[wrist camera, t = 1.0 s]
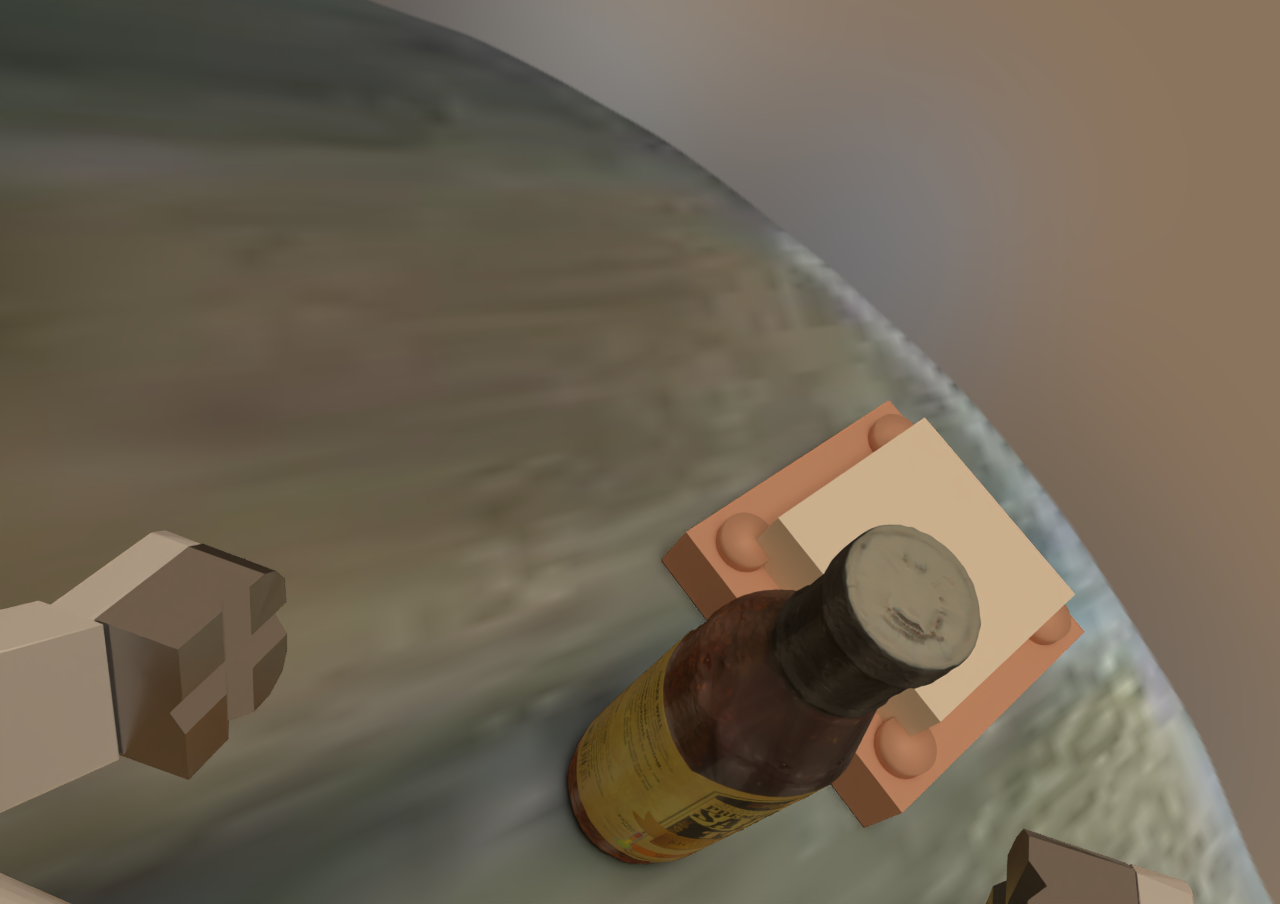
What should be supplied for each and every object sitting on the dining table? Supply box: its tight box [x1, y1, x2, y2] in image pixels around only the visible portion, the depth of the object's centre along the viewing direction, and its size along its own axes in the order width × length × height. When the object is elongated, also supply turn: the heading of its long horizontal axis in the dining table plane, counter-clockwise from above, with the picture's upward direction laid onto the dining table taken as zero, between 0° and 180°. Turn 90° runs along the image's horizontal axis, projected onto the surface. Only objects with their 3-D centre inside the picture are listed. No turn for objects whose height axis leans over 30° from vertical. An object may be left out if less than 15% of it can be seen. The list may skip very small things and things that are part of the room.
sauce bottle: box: [567, 525, 981, 864], centre depth 35 cm, size 7×6×20 cm
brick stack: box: [662, 401, 1084, 828], centre depth 48 cm, size 14×14×6 cm
